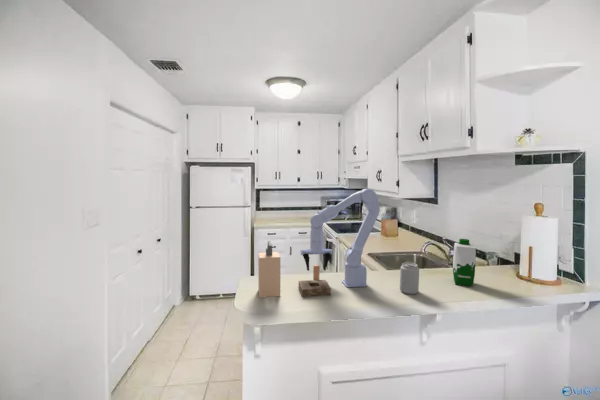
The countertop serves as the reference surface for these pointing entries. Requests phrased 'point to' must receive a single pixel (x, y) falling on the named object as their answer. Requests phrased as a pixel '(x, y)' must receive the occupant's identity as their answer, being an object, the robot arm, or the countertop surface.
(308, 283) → the block
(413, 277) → the can
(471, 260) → the milk carton
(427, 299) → the countertop surface
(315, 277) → the pin
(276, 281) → the soap dispenser
